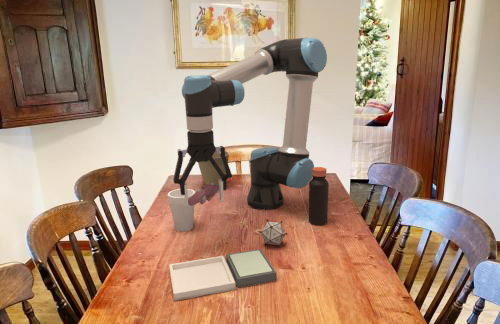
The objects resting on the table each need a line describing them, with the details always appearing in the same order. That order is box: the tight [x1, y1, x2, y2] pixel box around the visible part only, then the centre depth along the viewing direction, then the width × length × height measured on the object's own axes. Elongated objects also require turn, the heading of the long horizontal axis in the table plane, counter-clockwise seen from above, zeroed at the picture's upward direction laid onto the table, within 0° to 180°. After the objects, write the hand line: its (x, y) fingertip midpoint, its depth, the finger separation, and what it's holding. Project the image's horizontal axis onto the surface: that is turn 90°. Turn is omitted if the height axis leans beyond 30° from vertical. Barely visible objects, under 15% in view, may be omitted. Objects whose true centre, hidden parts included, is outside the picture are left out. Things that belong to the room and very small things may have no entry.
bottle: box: [308, 166, 330, 226], centre depth 134 cm, size 7×7×20 cm
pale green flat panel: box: [230, 249, 273, 278], centre depth 105 cm, size 9×12×1 cm
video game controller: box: [188, 183, 219, 206], centre depth 114 cm, size 10×5×7 cm, turn 148°
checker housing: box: [225, 248, 277, 289], centre depth 105 cm, size 11×14×2 cm
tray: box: [168, 255, 237, 302], centre depth 102 cm, size 16×15×2 cm
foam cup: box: [167, 188, 196, 232], centre depth 132 cm, size 10×9×13 cm
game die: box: [258, 218, 288, 248], centre depth 120 cm, size 9×8×10 cm
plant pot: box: [197, 150, 230, 187], centre depth 175 cm, size 15×15×16 cm
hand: (204, 202), depth 115 cm, fingers closed on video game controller, 10 cm apart
